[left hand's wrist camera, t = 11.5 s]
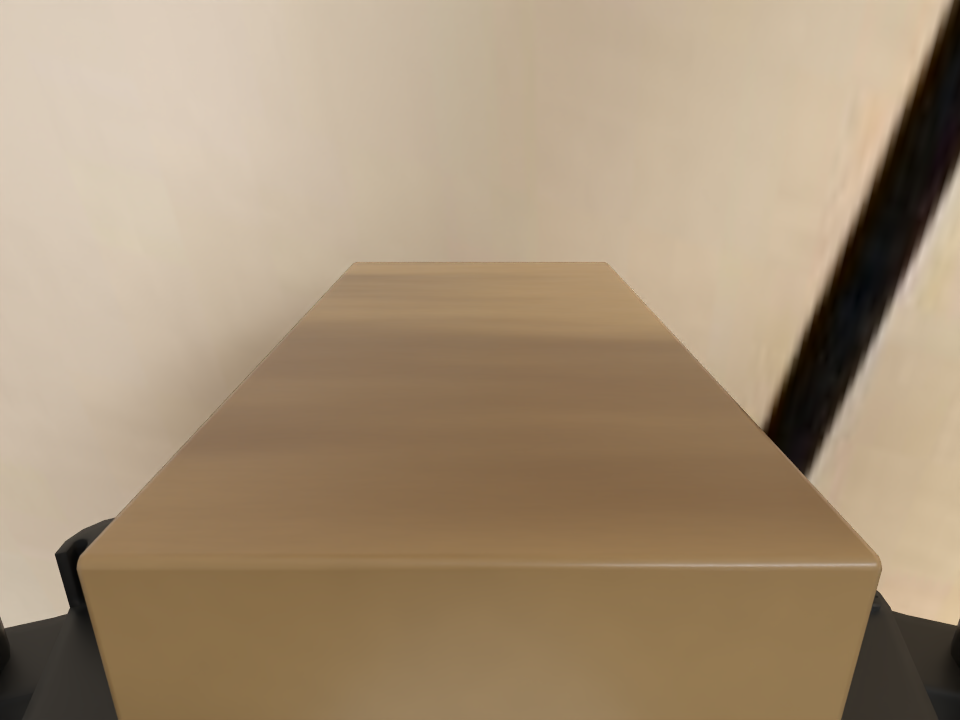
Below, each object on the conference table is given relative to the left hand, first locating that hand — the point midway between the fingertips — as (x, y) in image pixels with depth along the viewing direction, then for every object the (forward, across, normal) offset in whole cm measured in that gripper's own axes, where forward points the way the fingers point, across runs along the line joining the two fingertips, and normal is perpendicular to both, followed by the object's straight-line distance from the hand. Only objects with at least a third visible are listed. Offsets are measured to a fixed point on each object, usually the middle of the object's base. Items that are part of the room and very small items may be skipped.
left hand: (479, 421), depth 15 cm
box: (+1, 0, -7) cm, 7 cm away
